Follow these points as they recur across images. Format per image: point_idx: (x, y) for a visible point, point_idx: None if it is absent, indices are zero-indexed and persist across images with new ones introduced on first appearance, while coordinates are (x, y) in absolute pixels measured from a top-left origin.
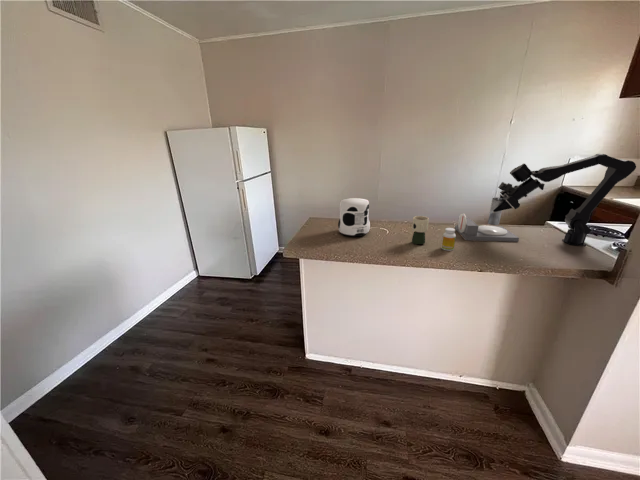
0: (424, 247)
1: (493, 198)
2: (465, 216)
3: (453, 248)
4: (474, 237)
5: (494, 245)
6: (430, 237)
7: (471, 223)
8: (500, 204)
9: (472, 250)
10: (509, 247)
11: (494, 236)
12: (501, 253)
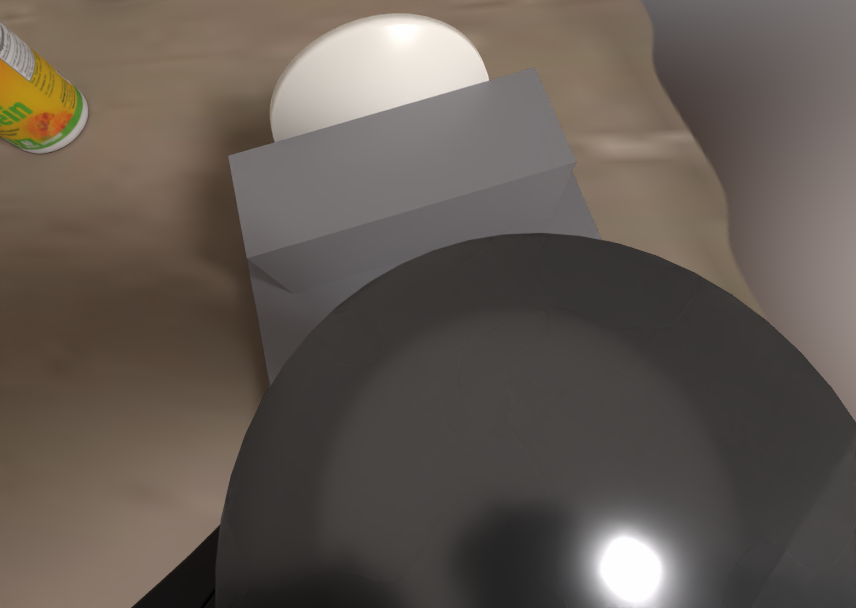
0: (56, 7)
1: (489, 276)
2: (302, 62)
3: (15, 145)
4: (253, 277)
5: (179, 439)
6: (251, 13)
7: (323, 190)
8: (198, 568)
9: (43, 268)
10: (155, 565)
11: None
12: (7, 470)
